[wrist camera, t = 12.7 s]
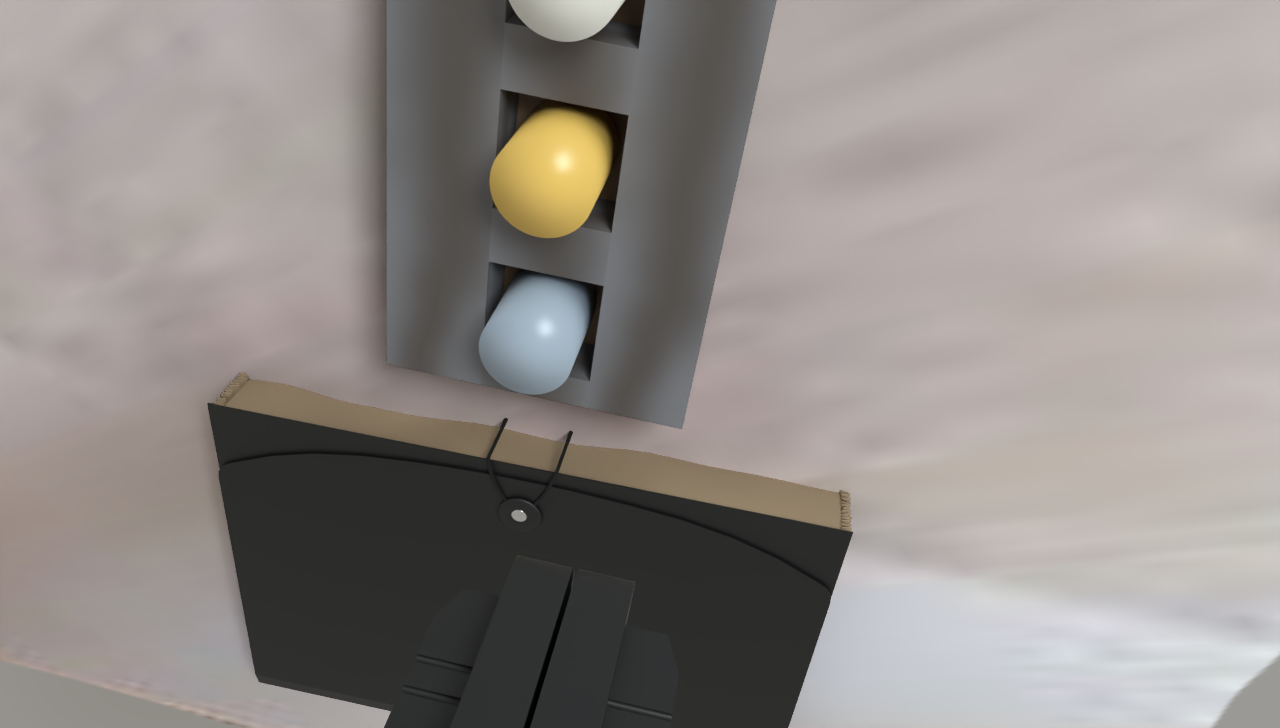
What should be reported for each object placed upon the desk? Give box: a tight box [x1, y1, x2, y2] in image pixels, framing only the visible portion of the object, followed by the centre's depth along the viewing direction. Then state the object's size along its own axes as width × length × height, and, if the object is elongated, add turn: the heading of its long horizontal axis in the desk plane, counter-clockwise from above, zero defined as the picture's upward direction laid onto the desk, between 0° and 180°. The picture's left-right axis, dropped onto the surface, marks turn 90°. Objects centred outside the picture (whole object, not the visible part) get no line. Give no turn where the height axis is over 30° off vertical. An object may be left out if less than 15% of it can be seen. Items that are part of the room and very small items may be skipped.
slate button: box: [479, 268, 597, 395], centre depth 42 cm, size 4×4×5 cm
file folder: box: [208, 373, 853, 728], centre depth 56 cm, size 33×4×24 cm
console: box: [386, 0, 776, 429], centre depth 40 cm, size 14×23×4 cm, turn 171°
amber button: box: [490, 99, 619, 238], centre depth 38 cm, size 4×4×5 cm
